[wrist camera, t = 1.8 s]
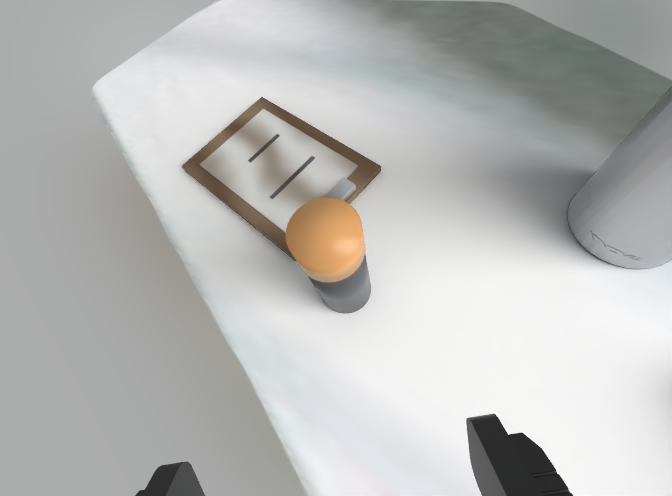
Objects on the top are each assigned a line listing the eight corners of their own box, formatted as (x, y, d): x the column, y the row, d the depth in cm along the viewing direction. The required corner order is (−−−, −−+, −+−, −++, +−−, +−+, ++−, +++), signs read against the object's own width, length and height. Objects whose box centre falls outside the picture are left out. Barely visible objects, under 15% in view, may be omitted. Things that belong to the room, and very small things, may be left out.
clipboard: (263, 101, 45) (259, 90, 44) (380, 170, 38) (380, 160, 36) (185, 170, 42) (176, 160, 40) (295, 260, 34) (291, 253, 33)
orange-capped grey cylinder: (343, 255, 34) (320, 185, 23) (382, 284, 32) (377, 223, 21) (310, 292, 33) (270, 237, 22) (348, 325, 31) (325, 282, 20)
